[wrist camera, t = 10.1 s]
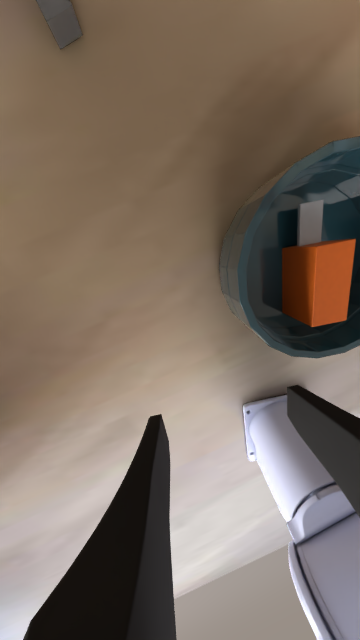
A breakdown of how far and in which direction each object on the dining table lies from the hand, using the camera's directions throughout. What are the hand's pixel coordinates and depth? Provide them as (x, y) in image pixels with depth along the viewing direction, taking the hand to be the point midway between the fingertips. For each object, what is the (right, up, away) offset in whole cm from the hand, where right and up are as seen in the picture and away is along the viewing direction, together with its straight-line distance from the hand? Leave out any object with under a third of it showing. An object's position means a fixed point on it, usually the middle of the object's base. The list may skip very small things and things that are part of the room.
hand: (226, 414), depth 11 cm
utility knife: (+8, +10, +6) cm, 15 cm away
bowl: (+8, +11, +7) cm, 15 cm away
